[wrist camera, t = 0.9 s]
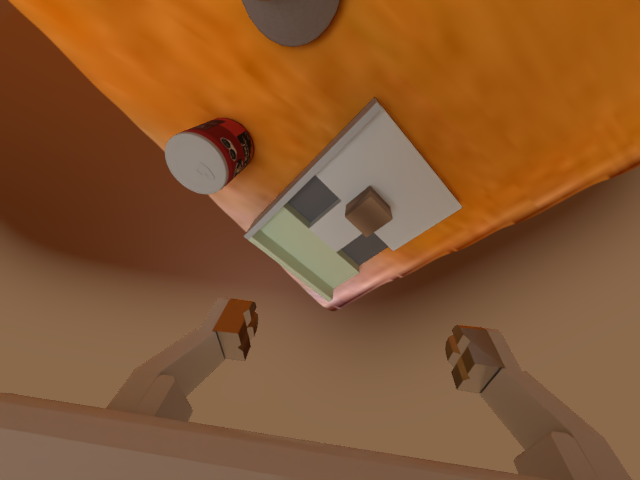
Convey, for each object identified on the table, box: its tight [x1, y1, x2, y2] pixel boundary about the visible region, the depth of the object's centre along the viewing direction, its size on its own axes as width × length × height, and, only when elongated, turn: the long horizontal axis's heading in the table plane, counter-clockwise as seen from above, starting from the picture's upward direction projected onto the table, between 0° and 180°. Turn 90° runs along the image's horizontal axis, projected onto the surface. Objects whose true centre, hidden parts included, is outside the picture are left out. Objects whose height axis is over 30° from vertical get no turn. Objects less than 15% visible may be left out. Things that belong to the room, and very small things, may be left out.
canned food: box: [165, 118, 254, 194], centre depth 36 cm, size 8×8×11 cm
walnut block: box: [345, 185, 393, 238], centre depth 39 cm, size 5×5×4 cm
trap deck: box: [244, 97, 463, 302], centre depth 43 cm, size 29×21×6 cm
